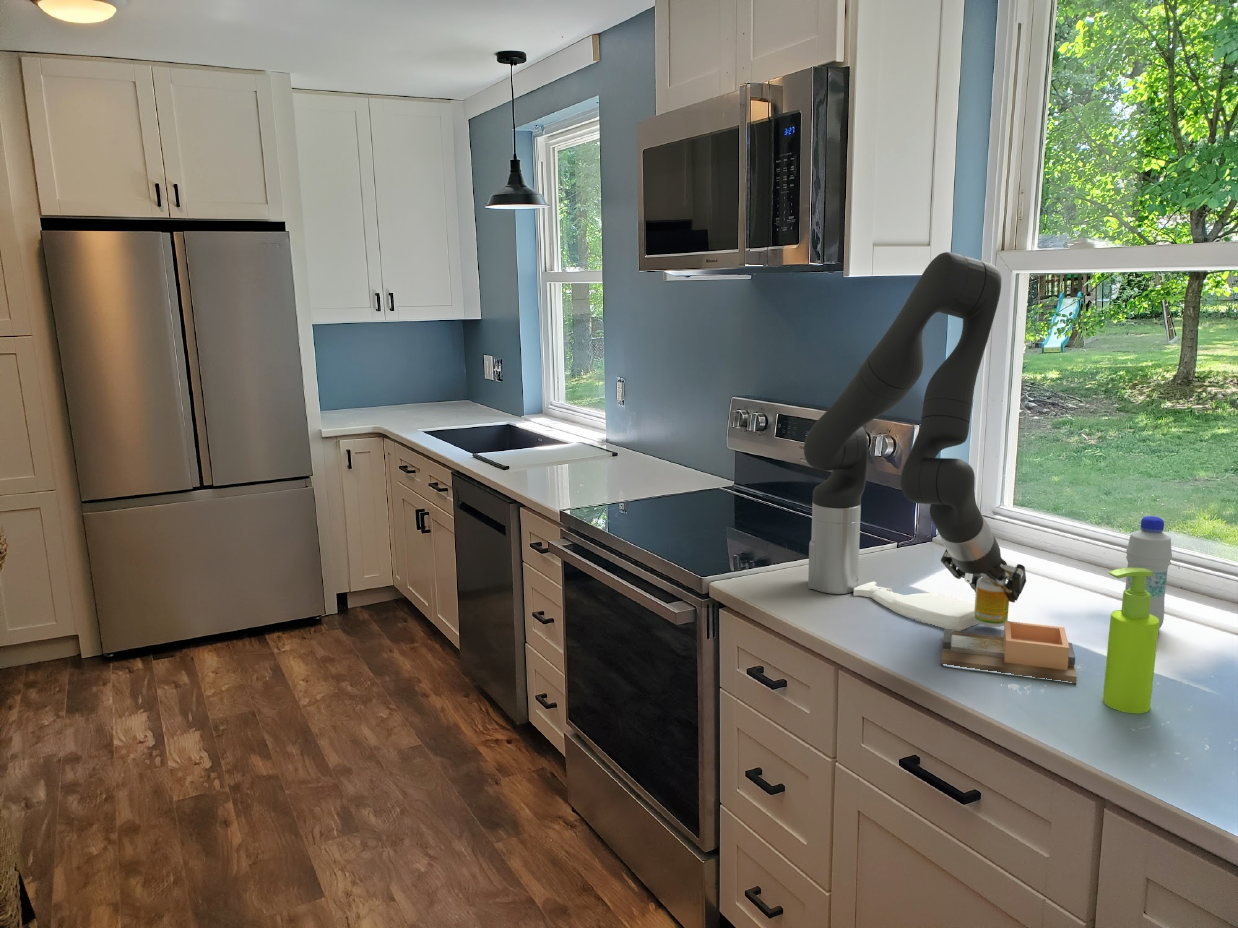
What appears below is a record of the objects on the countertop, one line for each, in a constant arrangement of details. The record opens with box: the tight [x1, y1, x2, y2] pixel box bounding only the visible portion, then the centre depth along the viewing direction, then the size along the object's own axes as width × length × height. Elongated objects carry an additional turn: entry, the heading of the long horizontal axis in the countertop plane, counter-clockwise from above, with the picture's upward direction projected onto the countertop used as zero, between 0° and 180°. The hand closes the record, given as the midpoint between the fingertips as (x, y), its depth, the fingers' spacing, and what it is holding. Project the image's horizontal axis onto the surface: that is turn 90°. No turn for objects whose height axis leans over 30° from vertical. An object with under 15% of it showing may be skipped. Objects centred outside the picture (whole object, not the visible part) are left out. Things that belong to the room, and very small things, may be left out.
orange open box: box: [1002, 620, 1069, 670], centre depth 141 cm, size 9×9×4 cm
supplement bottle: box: [974, 577, 1010, 628], centre depth 154 cm, size 5×5×10 cm
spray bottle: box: [853, 581, 980, 632], centre depth 167 cm, size 3×11×24 cm
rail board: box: [941, 631, 1078, 684], centre depth 143 cm, size 19×13×1 cm
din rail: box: [942, 628, 1076, 667], centre depth 143 cm, size 19×6×2 cm, turn 68°
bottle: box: [1124, 515, 1173, 631], centre depth 153 cm, size 7×7×20 cm
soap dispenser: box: [1102, 567, 1160, 715], centre depth 126 cm, size 6×7×20 cm
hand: (997, 593), depth 156 cm, fingers closed on supplement bottle, 5 cm apart
